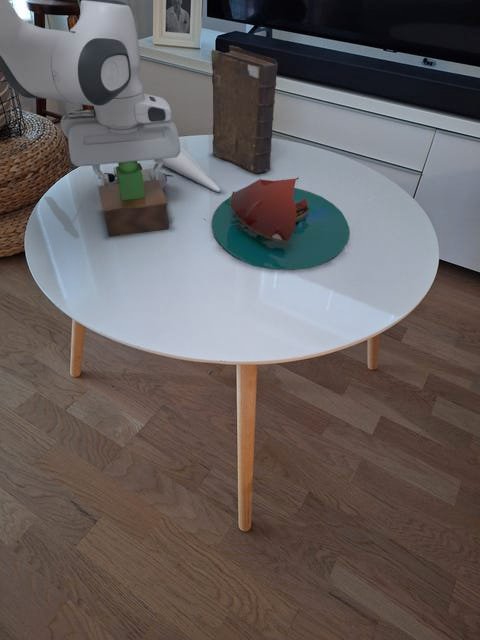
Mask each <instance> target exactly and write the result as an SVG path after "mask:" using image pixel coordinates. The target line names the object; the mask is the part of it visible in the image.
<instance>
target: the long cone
mask: <svg viewBox="0 0 480 640" xmlns="http://www.w3.org/2000/svg"><path fill="white" fill-rule="evenodd" d="M162 160H163V164H162V166H164V167H166V168H168V169H170V170H172V171H174V172H176V173H178V174H180V175H182V176H184V177H186V178H188V179H190V180H191V181H194V182H196V183H198V184H200V185H201V186H202V187H203V186H204V187H205V188H208V189H209V190H212V191H213V192H216V193H220V192H221V187H219V185H218V184H217V183H216V182H215V181H214V180H213V179H212V178H210V176H209V175H208V174H207V173H206V172H205V170H204V169H203V168H202V167H201V166H200V165H199V164H198V163H197V162H196V161H195V160H194V159H193V158H192V157H191V155H189V154H188V153H187V151H185V150H184V148H182V147H181V146H180V153H179V155H178V156H177V157H175V158H164V159H162Z"/></svg>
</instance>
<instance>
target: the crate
mask: <svg viewBox="0 0 480 640" xmlns="http://www.w3.org/2000/svg"><path fill="white" fill-rule="evenodd" d="M143 184H144V192H145V198H139V199H131V200H122V198H121V194H120V190H119V184H118V183H113V184H112V183H110V185H107V186H102V185H98V186H97V188H98V193H99V198H100V204H101V210H102V213H104V219H105V225H106V230H107V235H108V237H118V236H124V235H125V236H126V235H132V234H140V233H148V232H156V231H163V230H169V218H168V205H169V202H168V200H167V198H166V195H165V193H164V189H162V187H161V185H160V182H159V180H155V181H151V180H149V181H143Z"/></svg>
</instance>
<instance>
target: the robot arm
mask: <svg viewBox="0 0 480 640" xmlns="http://www.w3.org/2000/svg"><path fill="white" fill-rule="evenodd" d="M79 10H80V11H79V12H80V15H79V18H78V20H77V22H76V23H75V25H74V26H73V27H71V28H70V29H69V31H68V30H60V29H51V28H43V27H40V26H38V25H34V24H32V23H30V22H28V21H26V20H24V19H22V18H21V17H20V16H19V14H18V12H16V9H15V8H14V6H13V5H12V3H11V1H10V0H0V71H1V74H2V75H3V77H4V79H5V81H6V82H7V84H8V85H9V87H11V89H12V90H13V91H14V92H16V93H17V94H18V95H20V96H21V97H23V98H26V99H38V100H53V101H57V102H58V101H59V102H64V103H69V104H70V103H71V104H77V105H83V106H91V107H93V109H86V110H79V111H76V110H71V111H68V112H67V113H66V114H65V115H63V116H62V117H61V120H60V126H61V131H62V134H63V135H64V136H65V137H66V138H67V140H68V141H67V142H68V150H69V152H68V153H69V157H70V162H71V163H72V164H73V165H74V166H75V167H88V166H89V167H90V166H92V171H93V172H94V173H95V174H96V176H97V178H98V177H99V178H101V180H100V183H101V186H107V185H111V183H109V178H108V174H104V173H103V171H102V170H101V165H111V164H118V163H122V162H133V161H137V162H141V161H142V162H143V161H154V165H153V167H152V168H148V169H149V173H150V179H151V181H155V180H158V172H159V171H160V170H161V168H162V166H163V165H162V164H163V160H162V159H164V158H175V157H177V156H178V155H179V153H180V147H181V142H180V135H179V132H178V129H177V125H176V124H175V122H174V120H173V118H172V117H173V116H172V108H171V106H170V104H169V103H168V101H167V100H166V99H164V98H163V97H160V96H156V95H152V94H148V93H145V89H144V84H143V82H142V79H141V74H140V73H141V72H140V71H141V64H142V62H141V52H140V44H139V43H140V42H139V37H138V31H137V27H136V22H135V19H134V14H133V12H132V9H131V7H130V6H129V5H128V4H126V2H124V1H122V0H81V1H80V9H79Z"/></svg>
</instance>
